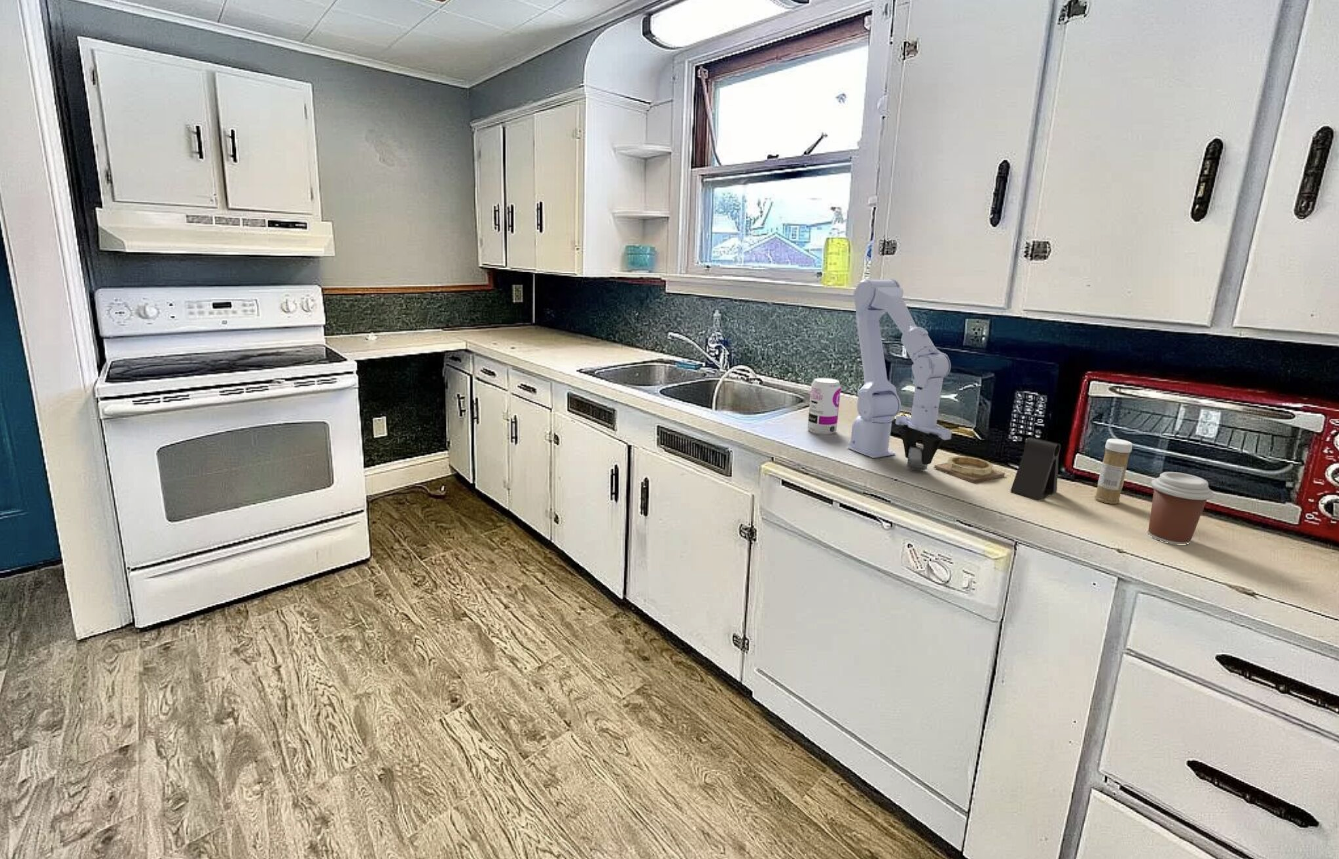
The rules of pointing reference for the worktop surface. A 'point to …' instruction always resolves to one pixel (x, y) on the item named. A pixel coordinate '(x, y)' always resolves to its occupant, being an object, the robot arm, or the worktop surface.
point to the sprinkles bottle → (1113, 470)
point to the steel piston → (916, 457)
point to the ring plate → (969, 478)
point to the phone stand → (1037, 469)
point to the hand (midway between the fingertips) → (917, 460)
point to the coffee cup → (1177, 506)
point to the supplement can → (824, 406)
